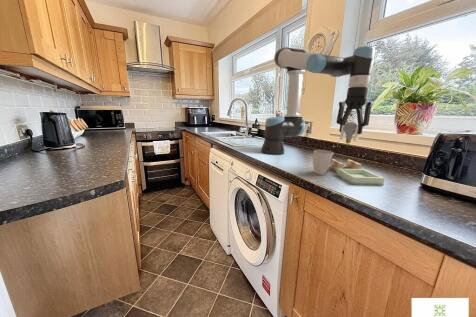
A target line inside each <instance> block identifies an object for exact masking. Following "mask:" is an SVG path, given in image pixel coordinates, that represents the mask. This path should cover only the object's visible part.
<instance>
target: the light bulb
mask: <svg viewBox="0 0 476 317" xmlns="http://www.w3.org/2000/svg"><path fill="white" fill-rule="evenodd" d="M356 127H358V123H357V122H354V121H348V122H346V123H345V126H344V131H345V144H347V145H348V144H350V143H351V142H352V138H353V137H354V135H355V130H356Z"/></svg>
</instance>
